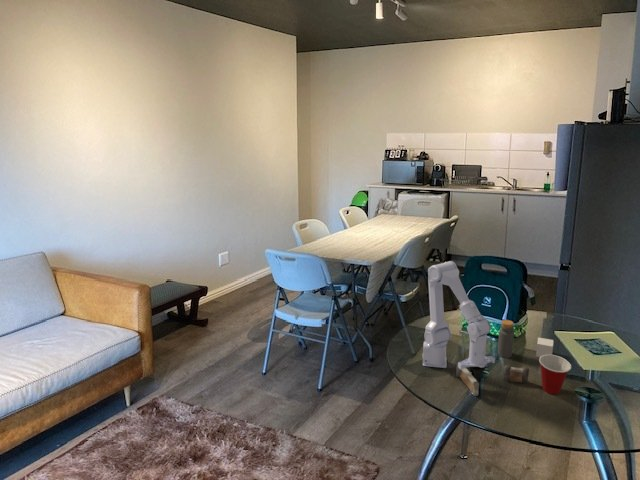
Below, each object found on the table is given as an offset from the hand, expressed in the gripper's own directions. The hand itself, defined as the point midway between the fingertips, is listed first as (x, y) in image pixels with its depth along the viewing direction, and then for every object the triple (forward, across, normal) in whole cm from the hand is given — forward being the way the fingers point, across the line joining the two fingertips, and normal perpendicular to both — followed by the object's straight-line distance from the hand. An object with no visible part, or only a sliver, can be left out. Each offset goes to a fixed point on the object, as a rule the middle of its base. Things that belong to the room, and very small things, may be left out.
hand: (475, 381), depth 187 cm
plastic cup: (+2, +26, -11) cm, 28 cm away
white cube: (+3, +41, +12) cm, 42 cm away
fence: (+2, +17, -1) cm, 17 cm away
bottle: (+2, +25, +17) cm, 31 cm away
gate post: (+2, -1, +9) cm, 9 cm away
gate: (+2, -2, +1) cm, 3 cm away
